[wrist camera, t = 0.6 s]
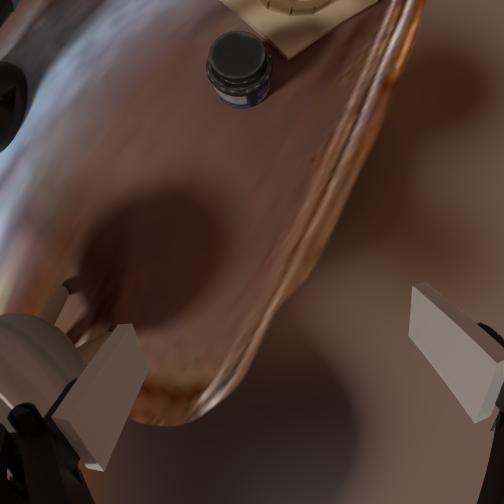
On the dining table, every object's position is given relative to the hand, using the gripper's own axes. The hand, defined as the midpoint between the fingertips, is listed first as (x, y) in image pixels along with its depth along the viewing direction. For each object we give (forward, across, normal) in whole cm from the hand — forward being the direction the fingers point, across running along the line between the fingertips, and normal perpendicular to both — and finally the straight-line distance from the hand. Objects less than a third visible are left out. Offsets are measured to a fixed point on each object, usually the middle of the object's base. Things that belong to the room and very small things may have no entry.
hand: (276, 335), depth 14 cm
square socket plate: (+24, +8, +30) cm, 40 cm away
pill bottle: (+24, 0, +17) cm, 30 cm away
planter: (+24, -29, -10) cm, 39 cm away
